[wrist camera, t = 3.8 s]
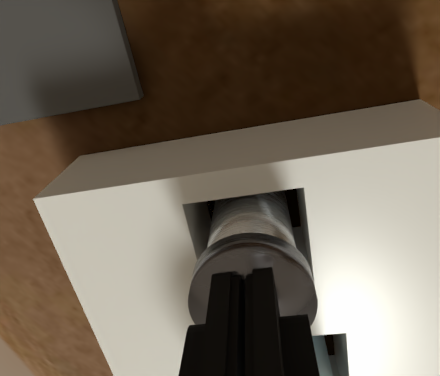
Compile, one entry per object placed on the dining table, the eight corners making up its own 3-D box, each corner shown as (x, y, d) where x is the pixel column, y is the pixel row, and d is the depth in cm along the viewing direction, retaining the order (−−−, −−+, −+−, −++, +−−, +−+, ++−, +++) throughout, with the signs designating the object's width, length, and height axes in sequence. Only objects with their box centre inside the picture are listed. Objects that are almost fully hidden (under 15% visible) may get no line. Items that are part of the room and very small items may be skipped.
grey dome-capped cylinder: (199, 171, 15) (174, 262, 10) (288, 157, 15) (312, 245, 10) (217, 244, 17) (202, 356, 12) (298, 233, 16) (322, 346, 11)
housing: (79, 155, 16) (32, 198, 13) (420, 99, 14) (476, 131, 11) (188, 445, 25) (178, 518, 22) (408, 434, 23) (437, 513, 20)
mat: (-105, -69, 13) (-120, -72, 13) (83, -121, 12) (76, -126, 12) (-13, 125, 16) (-23, 129, 16) (143, 96, 15) (139, 99, 15)
